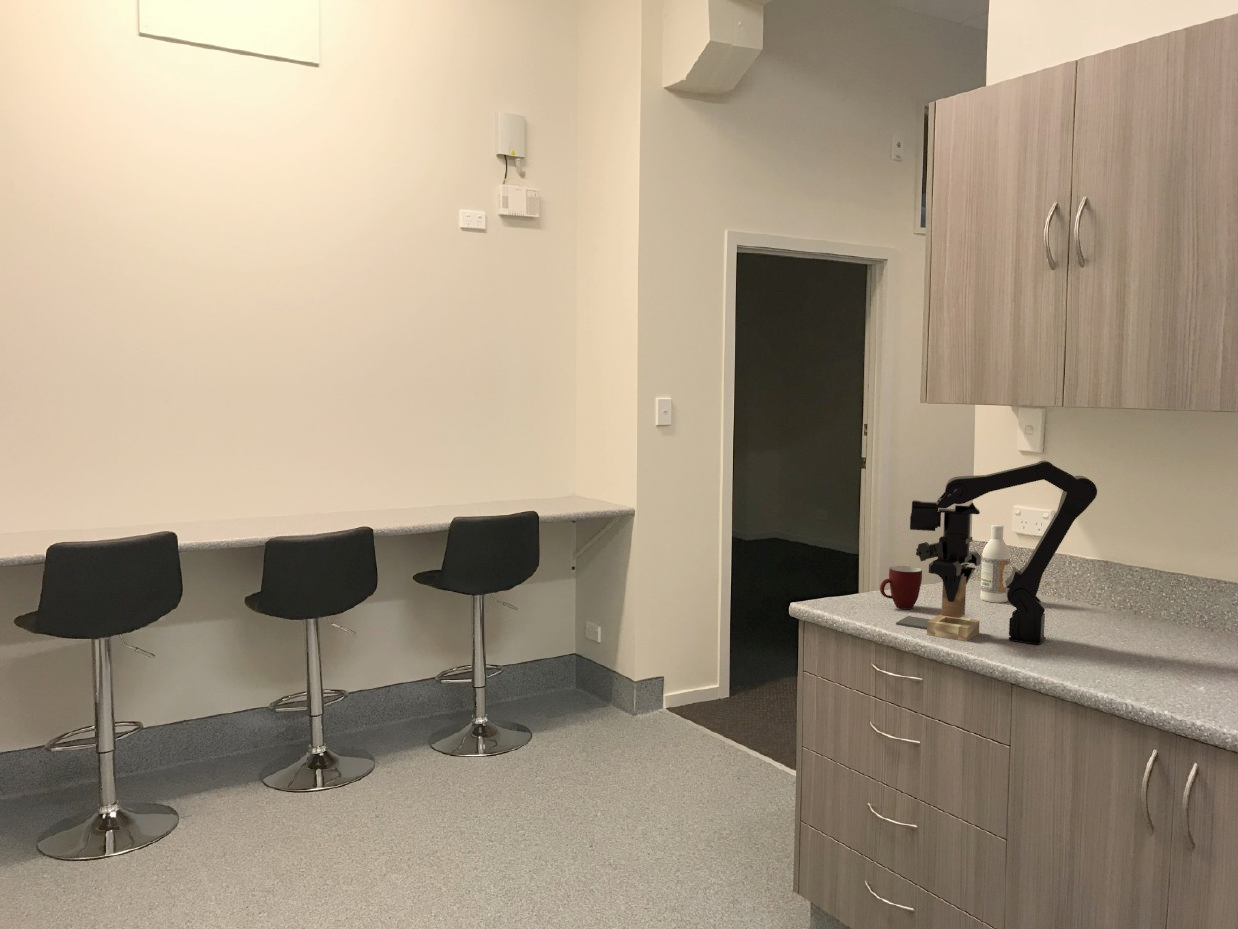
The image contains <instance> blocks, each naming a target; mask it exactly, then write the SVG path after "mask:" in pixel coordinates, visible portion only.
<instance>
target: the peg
mask: <svg viewBox="0 0 1238 929" xmlns="http://www.w3.org/2000/svg"><path fill="white" fill-rule="evenodd" d="M966 592H967V584H966V576H964V577H963V579H962V582H961V584H960V587H959V589H958V592H957V594H956V597H955V599H954V601H953V602H949V601H948V598H947V594H946V591H945V587H944V583H943V582H942V595H941V596H942V597H941V614H942V616H948V617H954V618H960V617H962V618H963V617H964V616H965V614H966V596H967V594H966Z"/></svg>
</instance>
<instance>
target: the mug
mask: <svg viewBox="0 0 1238 929" xmlns="http://www.w3.org/2000/svg"><path fill="white" fill-rule="evenodd" d="M922 581H923V569H922V568H919V567H915V566H911V565H910V566H908V565H894V566H890V567H889V569H888V578H885V579H883V581H881V584H879V585H880V586H879V591H880V594H881V595H882V596H883V597H884V598H887V599H890V600H892V601H893V603H894V606H895V607H896V608H897V609H900V610H911V609H913V608H914V606H915V604H916V603H917V601H918V598H919V595H920V591H921V586H922ZM887 584H889V586H890V587H889V589H890V595H888V594H886V592H885V587H886V585H887Z"/></svg>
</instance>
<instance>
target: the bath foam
mask: <svg viewBox="0 0 1238 929" xmlns="http://www.w3.org/2000/svg"><path fill="white" fill-rule="evenodd" d="M990 531H991V532H990V539H989V540H988V542H987V543H986V544H985V546H984V548H983V551H982V555H981V571H980V572H981V573H980V596H979V597H980V599H981V600H983V601H985V602H987V603H988V602H989V603H998V604H1000V603H1001V604H1003V603H1006V602H1009V601H1008V598H1007V595H1006V590H1005V589H1006V583H1005V581H1006V580H1007V579H1008V578H1009V577H1010V575H1011V573H1010V572H1011V571H1010V570H1011V553H1010V550H1009V547H1008V546H1007V543H1006V542H1005V540H1004V525H1002V524H991V530H990Z"/></svg>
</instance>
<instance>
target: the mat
mask: <svg viewBox="0 0 1238 929" xmlns="http://www.w3.org/2000/svg"><path fill="white" fill-rule="evenodd" d="M930 620H931V619H930V618H924V617H918V616H913V615H912V616H911V615H907V616H905V617H903V618H902V619H900V620H898V621H896V622H895V625H896V626H897V625H898V626H905V627H910V628H916V629H922V630H927V622H928V621H930Z"/></svg>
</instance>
